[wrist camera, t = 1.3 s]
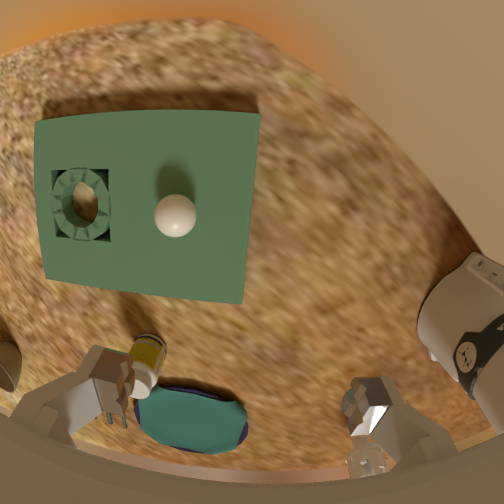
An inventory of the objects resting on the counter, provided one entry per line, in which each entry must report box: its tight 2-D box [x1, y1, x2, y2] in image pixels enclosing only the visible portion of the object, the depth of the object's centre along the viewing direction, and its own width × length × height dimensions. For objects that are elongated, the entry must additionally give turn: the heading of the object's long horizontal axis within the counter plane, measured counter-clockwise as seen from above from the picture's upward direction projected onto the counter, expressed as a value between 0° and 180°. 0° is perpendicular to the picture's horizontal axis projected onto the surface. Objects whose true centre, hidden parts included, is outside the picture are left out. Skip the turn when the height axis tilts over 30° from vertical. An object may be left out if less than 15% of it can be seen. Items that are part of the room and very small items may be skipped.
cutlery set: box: [95, 385, 248, 455], centre depth 43 cm, size 20×30×2 cm, turn 78°
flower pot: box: [0, 341, 22, 393], centre depth 37 cm, size 10×10×7 cm
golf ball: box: [154, 194, 197, 237], centre depth 27 cm, size 4×4×4 cm
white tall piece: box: [345, 431, 388, 478], centre depth 39 cm, size 7×7×15 cm
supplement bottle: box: [129, 334, 167, 399], centre depth 34 cm, size 5×5×8 cm
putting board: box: [34, 110, 261, 305], centre depth 30 cm, size 26×20×2 cm
